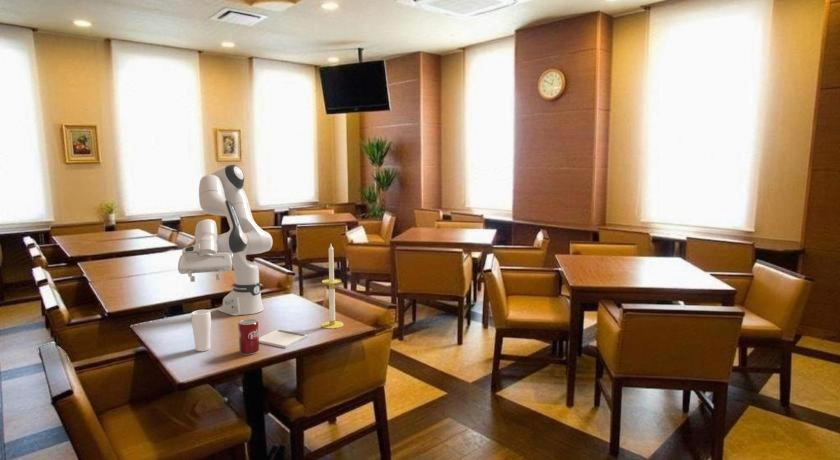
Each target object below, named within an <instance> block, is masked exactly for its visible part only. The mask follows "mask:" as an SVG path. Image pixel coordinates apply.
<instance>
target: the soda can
mask: <svg viewBox="0 0 840 460" xmlns="http://www.w3.org/2000/svg"><path fill="white" fill-rule="evenodd" d="M237 328H238V347H239V348H238V349H239V354H241V355H243V356H250V355H255V354H257V353H258V352H260V343H259V337H260V332H259V328H260V327H259V321H258V320H257V319H255V318H248V319H243V320H239V322H238V323H237Z"/></svg>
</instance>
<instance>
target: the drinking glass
mask: <svg viewBox="0 0 840 460" xmlns="http://www.w3.org/2000/svg"><path fill="white" fill-rule="evenodd" d="M211 314H212V313H211V310H210V309H198V310H194V311H192V312H191V325H192V326H191V327H192V332H193V338H194V345H195V348H194V349H195V351H196V352H205V351H208V350H210V349H211V331H212V316H211Z"/></svg>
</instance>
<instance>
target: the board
mask: <svg viewBox="0 0 840 460" xmlns="http://www.w3.org/2000/svg"><path fill="white" fill-rule="evenodd" d="M308 338H309V334H308V333H307V334H305V333H301V332H296V331H290V330H285V329H280V328H278V329H276V330H273V331H271V332H268V333H267V334H264V335H262V336H259V344H263V345H269V346H272V347H277V348H283V349H287V348H289V347H292V346H293V345H295V344H297V343H300V342H302V341H303V340H306V339H308Z"/></svg>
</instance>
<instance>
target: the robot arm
mask: <svg viewBox="0 0 840 460" xmlns="http://www.w3.org/2000/svg"><path fill="white" fill-rule="evenodd" d="M244 182H245V175H244V172H243V170H242V169H241V167H239V166H238V165H236V164H229V165H226V166H224V167H222V168H220V169H217V170H216V171H214V172H213V173H211V174H206V175H204V176H202V177H201V178H200V180H199V185H198V199H199V206H200V208H201V210H202V211H203V212H204V213H206V214H208V215H212V216H223V217H226V219H227V223H228V226H229V230H228V231H227V232H224V233H221V234H218V227H217V222H216V221H215V220H213V219H210V218H205V219H201V220H199V221H198V222H197V223H196V226H195V231H194V240H195V243H194V244H193V245H190V246H186V247H183V248H182V249H181V252H182V253H181V255H180V256H179V258H178V263H177V271H178V273H180V275H188V277H189V278H190V283H192V282H193V283H194V282H196V281H195V280H196V276H194V275H193V274H201V273H203V274H204V273H216V272H217V273H218V272H219V273H218V274H215V280H216V281H221V277H222V275H223V274H224V272H230V271H232V269H233V273H234V283H232V284H230V285H231V286H230V288H231V287H232V290H231V291H230V292H229V293H228V294H227V295H225V296H224V297H223V299H222V305H221V306H219V307H218V308H217V311H218V312H221V313H224V314H227V315H231V316H234V317H235V316H242V315H243V316H244V315H245V316H246V315H254V314H257V313H260V312H262V311H264V309H265V308H264V304H263V301H262V293H261V281H260V270H259V266H258V265H257V264H256V263H255V262H252V261H250V260H248V259H247V257H246V256H248V255H257V254H262V253H266V252H269V251H270V250H271V249H272V246H273V242H274V241H273V237H272V235H271V234H270V232H268V231H265V230H263V228H262V227H260V226H259V225H258V224H257V223H256V221H255V220H254V217H253V214H252V210H251V205H250V201H249V199H248V197H247V196H248V195H247V194H246V191H245V190H244V189H243V187H244Z"/></svg>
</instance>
